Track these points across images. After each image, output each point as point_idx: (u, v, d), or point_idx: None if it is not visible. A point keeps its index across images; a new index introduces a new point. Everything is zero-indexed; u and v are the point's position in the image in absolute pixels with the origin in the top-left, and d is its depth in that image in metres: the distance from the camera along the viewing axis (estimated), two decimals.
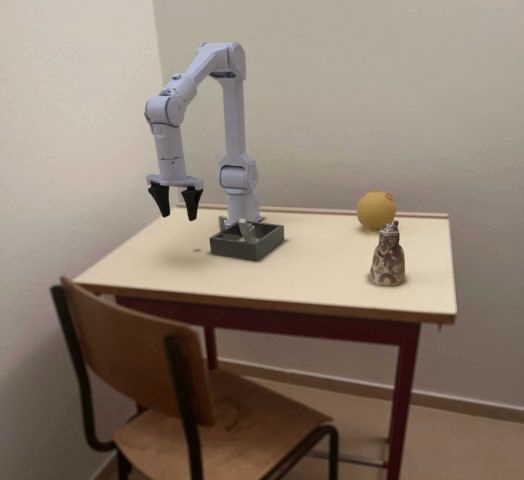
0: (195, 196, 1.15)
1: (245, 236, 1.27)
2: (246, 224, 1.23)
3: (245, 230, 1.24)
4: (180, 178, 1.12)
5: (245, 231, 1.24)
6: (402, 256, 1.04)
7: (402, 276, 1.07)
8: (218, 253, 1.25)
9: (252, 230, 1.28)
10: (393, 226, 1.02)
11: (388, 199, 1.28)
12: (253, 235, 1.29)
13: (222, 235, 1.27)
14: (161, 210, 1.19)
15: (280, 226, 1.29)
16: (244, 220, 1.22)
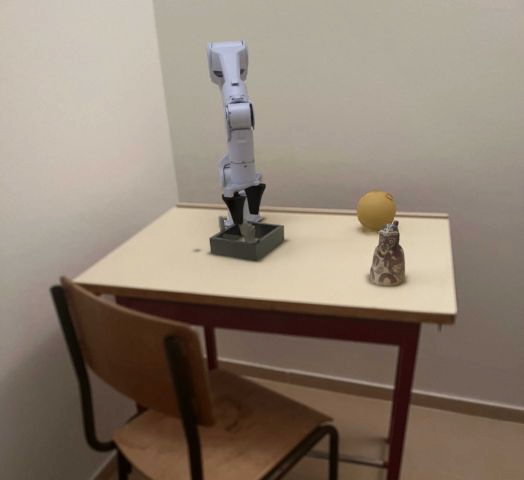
0: None
1: (245, 236, 1.27)
2: (246, 224, 1.23)
3: (245, 230, 1.24)
4: None
5: (245, 231, 1.24)
6: (402, 256, 1.04)
7: (402, 276, 1.07)
8: (218, 253, 1.25)
9: (252, 230, 1.28)
10: (393, 226, 1.02)
11: (388, 199, 1.28)
12: (253, 235, 1.29)
13: (222, 235, 1.27)
14: (242, 217, 1.21)
15: (280, 226, 1.29)
16: (244, 220, 1.22)
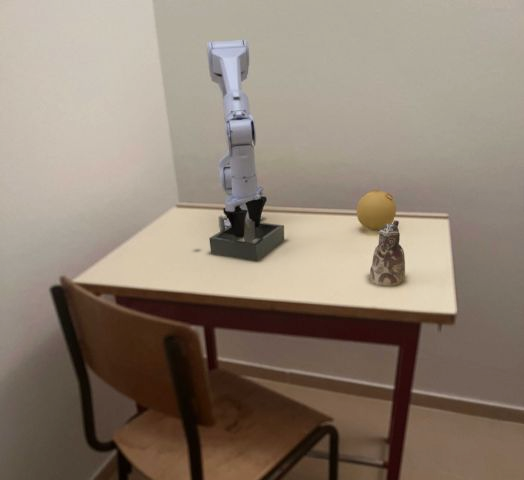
0: None
1: (245, 232, 1.27)
2: (246, 220, 1.23)
3: (245, 226, 1.24)
4: None
5: (245, 227, 1.24)
6: (402, 256, 1.04)
7: (402, 276, 1.07)
8: (218, 253, 1.25)
9: (252, 226, 1.27)
10: (393, 226, 1.02)
11: (388, 199, 1.28)
12: (253, 231, 1.28)
13: (222, 235, 1.27)
14: (243, 230, 1.23)
15: (280, 226, 1.29)
16: None
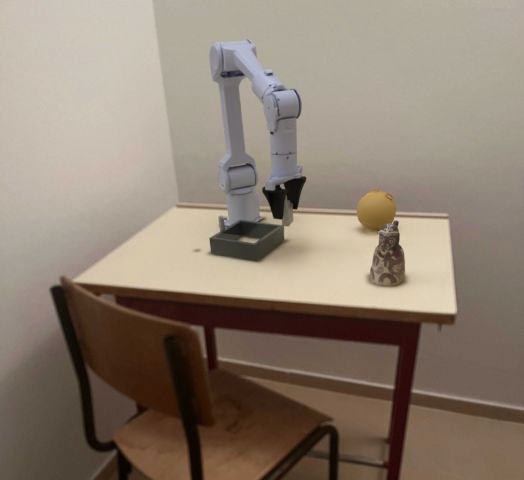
0: None
1: None
2: (285, 200, 1.15)
3: (284, 207, 1.16)
4: None
5: (284, 208, 1.16)
6: (402, 256, 1.04)
7: (402, 276, 1.07)
8: (218, 253, 1.25)
9: (290, 207, 1.20)
10: (393, 226, 1.02)
11: (388, 199, 1.28)
12: (291, 213, 1.21)
13: (222, 235, 1.27)
14: (283, 211, 1.15)
15: (280, 226, 1.29)
16: None
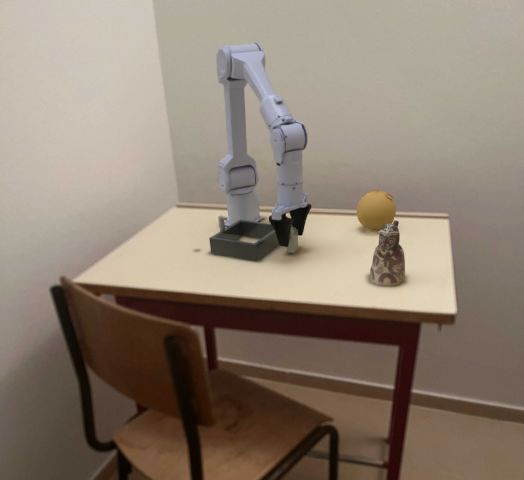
0: None
1: (289, 240, 1.22)
2: (291, 228, 1.18)
3: (290, 234, 1.19)
4: None
5: (290, 235, 1.19)
6: (402, 256, 1.04)
7: (402, 276, 1.07)
8: (218, 253, 1.25)
9: (296, 234, 1.22)
10: (393, 226, 1.02)
11: (388, 199, 1.28)
12: (296, 239, 1.24)
13: (222, 235, 1.27)
14: (288, 239, 1.18)
15: None
16: None
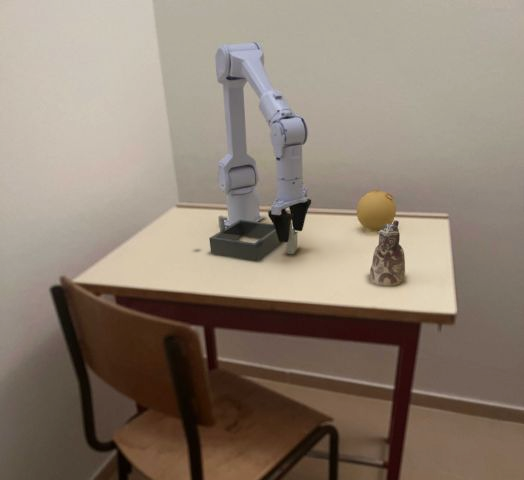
0: None
1: (288, 241, 1.22)
2: (291, 228, 1.18)
3: (289, 234, 1.19)
4: None
5: (289, 235, 1.19)
6: (402, 256, 1.04)
7: (402, 276, 1.07)
8: (218, 253, 1.25)
9: (295, 235, 1.22)
10: (393, 226, 1.02)
11: (388, 199, 1.28)
12: (296, 241, 1.24)
13: (222, 235, 1.27)
14: (288, 234, 1.17)
15: None
16: None
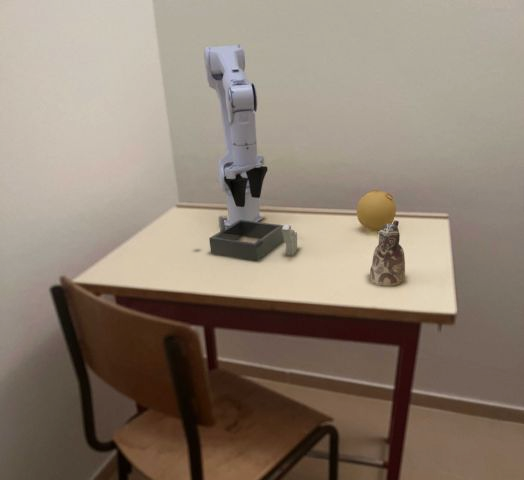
0: None
1: (287, 243, 1.22)
2: (290, 231, 1.18)
3: (288, 237, 1.19)
4: None
5: (288, 238, 1.19)
6: (402, 256, 1.04)
7: (402, 276, 1.07)
8: (218, 253, 1.25)
9: (294, 237, 1.22)
10: (393, 226, 1.02)
11: (388, 199, 1.28)
12: (295, 242, 1.23)
13: (222, 235, 1.27)
14: (244, 199, 1.22)
15: (280, 226, 1.29)
16: (288, 227, 1.17)
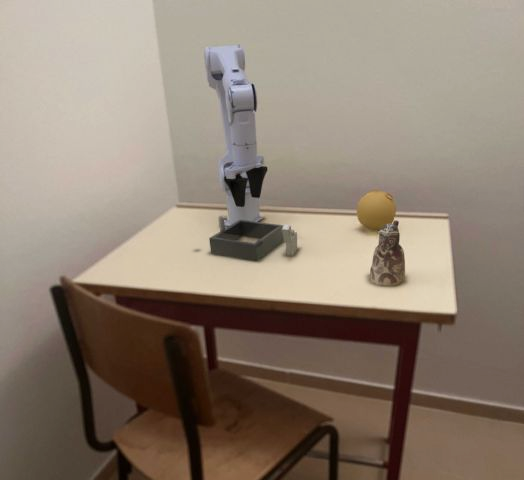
0: None
1: (287, 243, 1.22)
2: (290, 231, 1.18)
3: (288, 237, 1.19)
4: None
5: (288, 238, 1.19)
6: (402, 256, 1.04)
7: (402, 276, 1.07)
8: (218, 253, 1.25)
9: (294, 237, 1.22)
10: (393, 226, 1.02)
11: (388, 199, 1.28)
12: (295, 242, 1.23)
13: (222, 235, 1.27)
14: (244, 199, 1.22)
15: (280, 226, 1.29)
16: (288, 227, 1.17)
